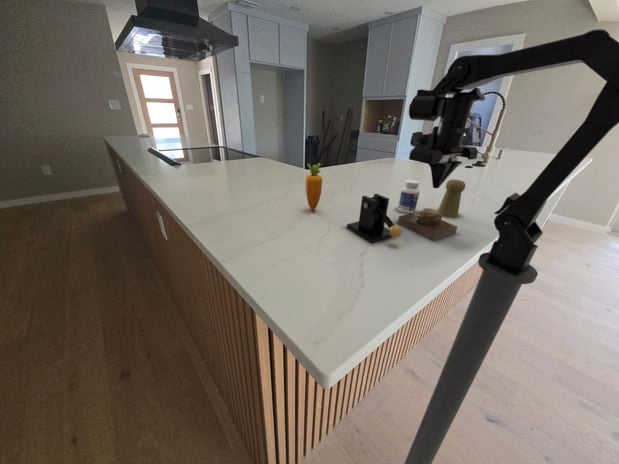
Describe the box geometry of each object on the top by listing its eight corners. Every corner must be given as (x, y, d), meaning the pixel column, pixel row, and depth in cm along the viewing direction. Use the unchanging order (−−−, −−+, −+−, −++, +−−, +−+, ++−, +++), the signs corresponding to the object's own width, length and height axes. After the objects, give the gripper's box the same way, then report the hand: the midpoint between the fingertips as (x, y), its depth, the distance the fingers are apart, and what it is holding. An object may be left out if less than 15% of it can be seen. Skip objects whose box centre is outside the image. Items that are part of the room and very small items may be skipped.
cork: (442, 209, 85) (451, 176, 81) (460, 214, 81) (471, 181, 76) (433, 213, 82) (442, 179, 77) (452, 219, 78) (463, 184, 73)
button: (438, 217, 69) (440, 211, 68) (429, 219, 67) (431, 213, 67) (427, 213, 72) (428, 207, 71) (418, 215, 70) (420, 209, 69)
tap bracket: (395, 237, 66) (402, 201, 61) (371, 243, 62) (377, 206, 58) (368, 222, 73) (373, 189, 69) (346, 227, 70) (350, 193, 65)
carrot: (301, 210, 80) (302, 162, 74) (313, 206, 83) (315, 160, 77) (311, 214, 77) (313, 165, 70) (323, 211, 80) (326, 163, 73)
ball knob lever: (400, 238, 61) (407, 231, 59) (391, 241, 60) (398, 233, 57) (373, 203, 67) (378, 195, 64) (364, 205, 65) (369, 196, 63)
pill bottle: (412, 214, 80) (419, 184, 76) (395, 211, 82) (401, 181, 78) (416, 209, 84) (423, 181, 80) (399, 206, 86) (405, 178, 82)
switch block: (455, 233, 69) (459, 220, 67) (433, 240, 64) (437, 226, 63) (418, 217, 78) (421, 205, 76) (397, 223, 74) (400, 210, 72)
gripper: (446, 120, 69) (431, 177, 76) (397, 120, 61) (386, 183, 68) (488, 123, 61) (468, 187, 68) (439, 123, 52) (421, 196, 59)
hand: (435, 188), depth 66 cm, fingers closed
